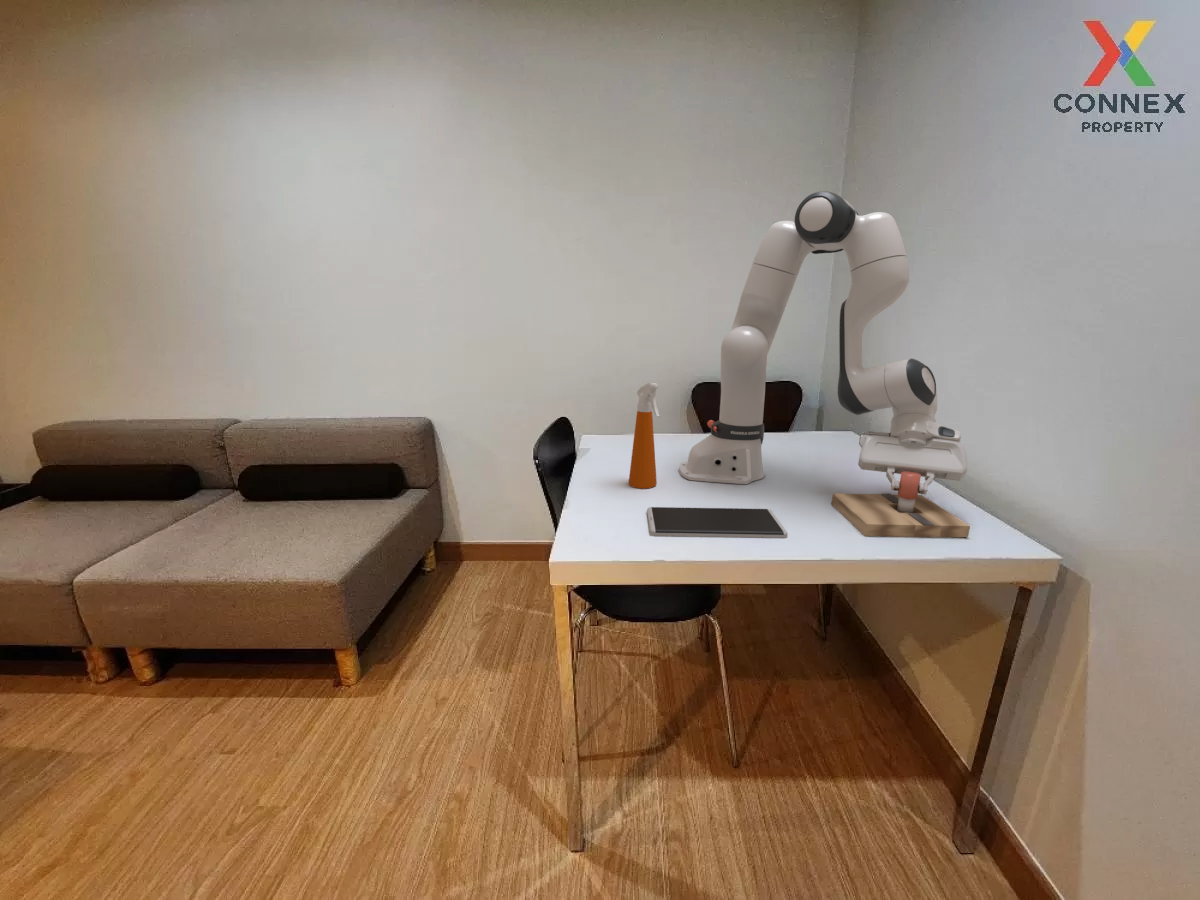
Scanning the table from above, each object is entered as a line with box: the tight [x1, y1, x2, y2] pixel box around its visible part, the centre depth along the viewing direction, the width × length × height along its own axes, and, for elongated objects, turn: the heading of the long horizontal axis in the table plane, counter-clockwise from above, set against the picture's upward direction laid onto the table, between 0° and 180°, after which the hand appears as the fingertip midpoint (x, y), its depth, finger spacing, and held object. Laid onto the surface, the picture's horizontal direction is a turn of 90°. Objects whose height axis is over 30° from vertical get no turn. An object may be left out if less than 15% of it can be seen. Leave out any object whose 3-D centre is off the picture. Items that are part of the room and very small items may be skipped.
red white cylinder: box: [897, 471, 922, 513], centre depth 116 cm, size 4×4×9 cm
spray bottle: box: [628, 382, 660, 490], centre depth 134 cm, size 7×11×26 cm, turn 22°
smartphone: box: [646, 506, 789, 539], centre depth 115 cm, size 13×27×2 cm, turn 89°
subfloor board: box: [830, 492, 971, 538], centre depth 117 cm, size 20×18×3 cm
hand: (908, 491), depth 115 cm, fingers open, 4 cm apart
